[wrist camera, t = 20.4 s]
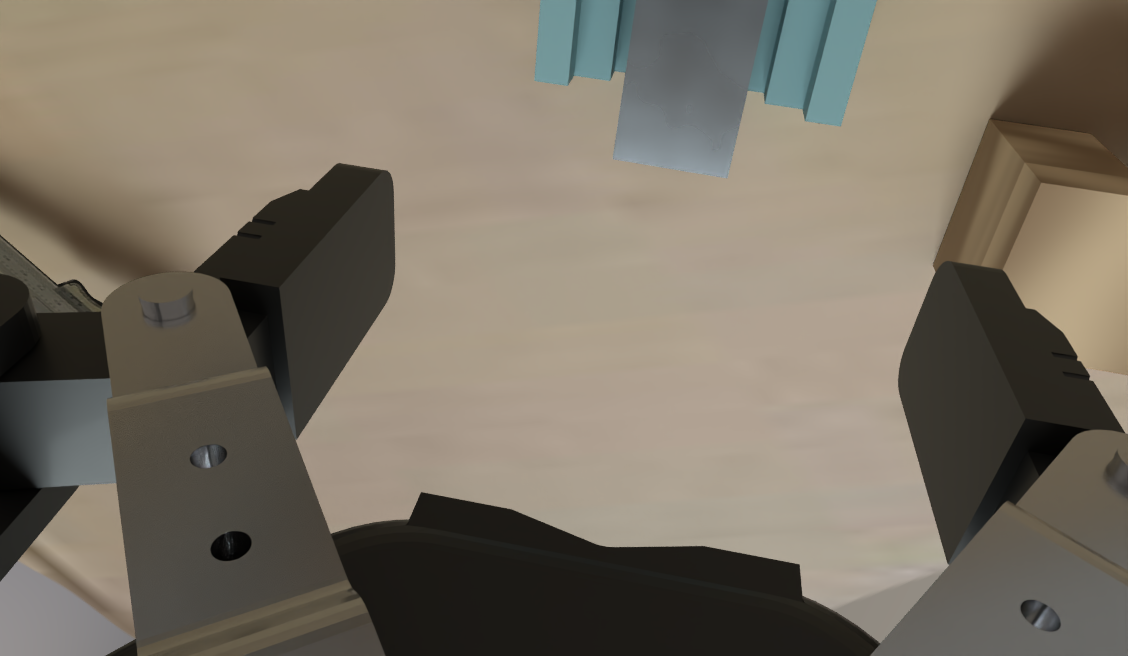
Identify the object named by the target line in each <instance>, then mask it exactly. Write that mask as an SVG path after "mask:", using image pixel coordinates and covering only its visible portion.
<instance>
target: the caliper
mask: <svg viewBox="0 0 1128 656" xmlns="http://www.w3.org/2000/svg"><path fill="white" fill-rule="evenodd" d="M0 274H4V275H9V276H12V277H15V278H17V279H19V280H21V281H22V282H23V283H24V284H26V285H27V287H28V289H29V292H30V295H31V298H32V302H33V305H34V308H35V311H36V313H60V312H100V311H101V307H102V305H103V303H102V302H100V301H98V300H96V299H94V298H93V297H92V296H91V295H90V294H89V293H88V292H87V290H86V289H85V287H84V286H83V285H82V284H81V283H80V282H79V281H77V280H73V279H72V280H69V281H67V282H64V283H61V284H58V285H57V284H56V283H55V282H54V281H52V280H51V279H50V278H49V277H48V276H47V275H46V274H44V273H43V272H42V271H41V270H40V269H39V268H38V267H36V266H35V265H34V264H33V263H32V262H31V261H29V260H28V259H27V258H26V257H25V256H24V255H23V254H21V253H20V252H19V251H18V250H17V249H16V248H15V247H13V246H12V245H11V244H10V243H9V242H8V241H7V240H5V239H4V238H3V237H2V236H1V235H0Z"/></svg>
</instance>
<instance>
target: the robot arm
mask: <svg viewBox="0 0 1128 656" xmlns="http://www.w3.org/2000/svg"><path fill="white" fill-rule="evenodd" d="M394 274H395V231H394V189H393V181H392V177H391V174H390V173H389V172H388V171H386V170H379V169H373V168H367V167H360V166H354V165H348V164H341V163H338V164H336V165H335V166H334V167H333V168H332V169H331V170H330V171H329V172H328V173H327V174H326V175H324V176H323V177H322V178H321V179H320V180H319V181H318V182H317V183H316V184H315V185H314V186H313V187H312V188H311V189H310V190H309V191H308V190H302V189H299V190H297V191H294V192H292V193H290V194H287V195H285V196H283V197H280V198H278V199H276V200H273V201H271V202H270V203H269V204H267V205H266V206H265V207H264V208H263V209H262V210H261V211H260V212H259V213H258V214H257V215H255V216H254V217H253V220H252V222H250V221H249V222H248V223H247V224H246V225H244V226H243V227H242V228H241V229H240V230H239V231H238V234H237V236H235V235H234V236H232V237H231V238H230V239H229V240H228V241H227V242H226V243H225V244H224V245H223V246H221V247H220V248H219V249H218V250H217V251H216V252H215V253H214V254H213V255H212V256H211V257H209V258H208V259H207V260H206V261H205V262H204V263H203V264H202V265H201V266H200V267H198V268H197V269H196V270H195V271H194V272H167V273H159V274H154V275H149V276H145V277H142V278H138V279H136V280H133V281H130V282H128V283H126V284H124V285H122V286H120V287H119V288H117V289H116V290H114V291H113V292H112V293H111V294H110V295H109V296H108V297H107V298H106V299H105V301H104V302H103V305H102V307H101V311H100V312H60V313H36V311H35V308H34V305H33V302H32V298H31V295H30V292H29V289H28V287H27V285H26V284H24V283H23V282H22V281H21V280H19V279H17V278H15V277H12V276H9V275H4V274H0V581H1V580H2V579H3V578H4V576H5V575H6V574H7V573H8V572H9V570H10V569H11V568H12V567H13V566H14V564H15V563H16V562H17V561H18V560H19V558H20V557H21V556H22V555H23V554H24V552H25V551H26V550H27V549H28V548H29V546H30V545H31V544H32V543H33V541H34V540H35V539H36V538H37V537H38V535H39V534H40V533H41V532H42V531H43V529H44V528H45V527H46V526H47V525H48V523H49V522H50V521H51V520H52V519H53V517H54V516H55V515H56V514H57V513H58V511H59V510H60V509H61V508H62V506H63V505H64V504H65V503H66V502H67V500H68V499H69V498H70V497H71V496H72V494H73V493H74V492H75V491H76V489H77V488H78V487H79V485H92V484H108V483H116V484H117V492H118V500H119V508H120V516H121V524H122V532H123V540H124V548H125V556H126V564H127V572H128V580H129V588H130V596H131V604H132V612H133V620H134V628H135V636H136V639H135V640H133V641H131V642H129V643H128V644H126V645H124V646H122V647H120V648H119V649H117V650H115V651H113V652H111V653H110V654H108V655H106V656H1128V434H1125V432H1124V430H1123V429H1122V427H1121V426H1120V424H1119V422H1118V421H1117V419H1116V417H1115V416H1114V414H1113V413H1112V411H1111V409H1110V408H1109V406H1108V404H1107V403H1106V401H1105V400H1104V398H1103V396H1102V395H1101V393H1100V391H1099V390H1098V388H1097V387H1096V385H1095V383H1094V382H1093V381H1089V377H1090V375H1089V374H1088V372H1087V370H1086V369H1085V367H1084V365H1083V364H1082V362H1081V361H1077V358H1078V356H1077V354H1076V352H1075V351H1074V349H1073V348H1072V346H1071V344H1070V343H1069V341H1068V339H1067V338H1066V336H1065V335H1064V333H1063V332H1062V331H1061V330H1059V329H1058V328H1057V327H1056V326H1055V325H1053V324H1052V323H1051V322H1050V321H1048V320H1047V319H1046V318H1045V317H1044V316H1042V315H1041V314H1040V313H1039V312H1038V311H1036V310H1035V309H1029V308H1025V306H1024V304H1023V302H1022V301H1021V299H1020V297H1019V295H1018V294H1017V292H1016V290H1015V288H1014V287H1013V285H1012V283H1011V281H1010V280H1009V278H1008V276H1007V274H1006V273H1005V272H1004V271H1003V270H1002V269H996V268H990V267H983V266H977V265H971V264H965V263H958V262H952V261H945V262H943V263H942V264H941V265H940V266H939V268H938V269H937V271H936V273H935V275H934V277H933V279H932V282H931V284H930V287H929V289H928V292H927V294H926V297H925V299H924V302H923V304H922V307H921V309H920V312H919V314H918V317H917V319H916V322H915V324H914V327H913V329H912V332H911V334H910V337H909V339H908V342H907V344H906V347H905V349H904V352H903V355H902V359H901V363H900V368H899V378H898V387H899V394H900V398H901V401H902V405H903V408H904V412H905V415H906V419H907V422H908V426H909V429H910V433H911V436H912V440H913V443H914V447H915V450H916V454H917V458H918V461H919V465H920V468H921V472H922V475H923V479H924V482H925V486H926V489H927V493H928V496H929V500H930V503H931V507H932V510H933V514H934V517H935V521H936V524H937V528H938V531H939V535H940V539H941V542H942V546H943V549H944V553H945V556H946V560H947V563H948V564H949V566H948V567H947V569H946V570H945V571H944V572H943V573H942V574H941V575H940V576H939V578H938V579H937V580H936V581H935V582H934V583H933V584H932V586H931V587H930V588H929V589H928V590H927V591H926V592H925V594H924V595H923V596H922V597H921V598H920V599H919V601H918V602H917V603H916V604H915V605H914V606H913V607H912V609H911V610H910V611H909V612H908V613H907V614H906V615H905V616H904V618H903V619H902V620H901V621H900V622H899V623H898V624H897V626H896V627H895V628H894V629H893V630H892V631H891V632H890V634H889V635H888V636H887V637H886V638H885V639H884V640H883V641H882V643H881V644H880V643H879V642H878V641H877V640H875V639H874V638H873V637H871V636H870V635H869V634H867V633H866V632H865V631H864V630H862V629H861V628H860V627H858V626H857V625H855V624H854V623H852V622H851V621H849V620H848V619H846V618H844V617H843V616H841V615H840V614H838V613H837V612H835V611H833V610H831V609H829V608H827V607H825V606H823V605H821V604H819V603H817V602H816V601H813V600H811V599H809V598H806V597H804V596H802V587H801V576H800V565H799V564H794V563H789V562H784V561H779V560H773V559H768V558H763V557H758V556H752V555H747V554H742V553H737V552H731V551H726V550H721V549H716V548H711V547H705V546H682V547H605V546H600V545H597V544H594V543H591V542H589V541H587V540H584V539H582V538H579V537H577V536H574V535H572V534H570V533H567V532H565V531H562V530H560V529H557V528H555V527H553V526H550V525H548V524H545V523H543V522H541V521H538V520H536V519H533V518H531V517H528V516H526V515H524V514H521V513H519V512H516V511H514V510H512V509H506V508H501V507H496V506H491V505H485V504H480V503H475V502H470V501H465V500H459V499H454V498H449V497H444V496H438V495H433V494H428V493H423V492H421V494H420V496H419V498H418V501H417V503H416V505H415V508H414V510H413V512H412V515H411V517H410V519H409V520H391V521H382V522H374V523H369V524H365V525H360V526H355V527H351V528H348V529H345V530H342V531H339V532H335V533H332V534H330V531H329V528H328V526H327V523H326V520H325V518H324V515H323V512H322V510H321V507H320V504H319V502H318V499H317V496H316V494H315V491H314V488H313V486H312V483H311V480H310V478H309V475H308V472H307V470H306V467H305V464H304V462H303V459H302V456H301V454H300V451H299V448H298V446H297V443H296V440H297V438H298V437H299V435H300V434H301V432H302V431H303V429H304V428H305V426H306V425H307V423H308V422H309V420H310V419H311V417H312V416H313V414H314V412H315V411H316V409H317V408H318V406H319V405H320V403H321V402H322V400H323V399H324V397H325V396H326V394H327V393H328V391H329V390H330V388H331V387H332V385H333V384H334V382H335V380H336V379H337V377H338V376H339V374H340V373H341V371H342V370H343V368H344V367H345V365H346V364H347V362H348V361H349V359H350V358H351V356H352V355H353V353H354V352H355V350H356V349H357V347H358V345H359V344H360V342H361V341H362V339H363V338H364V336H365V335H366V333H367V332H368V330H369V329H370V327H371V326H372V324H373V323H374V321H375V320H376V318H377V317H378V315H379V314H380V312H381V310H382V309H383V307H384V306H385V304H386V303H387V301H388V298H389V296H390V293H391V289H392V286H393V281H394ZM295 439H296V440H295Z"/></svg>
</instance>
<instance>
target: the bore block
mask: <svg viewBox="0 0 1128 656" xmlns="http://www.w3.org/2000/svg"><path fill="white" fill-rule="evenodd" d="M945 261H952V262H958V263H965V264H971V265H977V266H983V267H990V268H996V269H1002V270H1003V271H1004V272H1005V273H1006V274H1007V276H1008V278H1009V280H1010V281H1011V283H1012V285H1013V287H1014V288H1015V290H1016V292H1017V294H1018V295H1019V297H1020V299H1021V301H1022V302H1023V304H1024V306H1025V308H1029V309H1035V310H1036V311H1038V312H1039V313H1040V314H1041V315H1042V316H1044V317H1045V318H1046V319H1047V320H1048V321H1050V322H1051V323H1052V324H1053V325H1055V326H1056V327H1057V328H1058V329H1059V330H1061V331H1062V332H1063V333H1064V335H1065V336H1066V338H1067V339H1068V341H1069V343H1070V344H1071V346H1072V348H1073V349H1074V351H1075V352H1076V354H1077V356H1078V358H1077V361H1081V362H1082V364H1083V365H1084V367H1085V368H1088V369H1094V370H1100V371H1106V372H1112V373H1118V374H1124V375H1128V168H1127V167H1126V166H1125V165H1124V164H1123V163H1122V162H1121V161H1120V160H1119V159H1118V158H1116V157H1115V156H1114V155H1113V154H1112V153H1111V152H1110V151H1109V150H1108V149H1107V148H1106V147H1105V146H1103V145H1102V144H1101V143H1100V142H1099V141H1098V140H1097V139H1096V138H1095V137H1094V136H1093V135H1092V134H1089V133H1082V132H1075V131H1068V130H1061V129H1055V128H1048V127H1041V126H1034V125H1027V124H1020V123H1013V122H1006V121H1000V120H993V119H989V122H988V125H987V127H986V130H985V132H984V135H983V137H982V140H981V143H980V145H979V148H978V150H977V153H976V156H975V158H974V161H973V163H972V166H971V168H970V171H969V174H968V176H967V179H966V181H965V184H964V187H963V189H962V192H961V194H960V197H959V200H958V202H957V205H956V207H955V210H954V212H953V215H952V218H951V220H950V223H949V225H948V228H947V231H946V233H945V236H944V238H943V241H942V243H941V246H940V249H939V251H938V254H937V256H936V259H935V262H934V264H933V267H934V269H935V272H936V271H937V269H938V268H939V266H940V265H941V264H942V263H943V262H945Z"/></svg>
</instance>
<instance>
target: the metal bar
mask: <svg viewBox="0 0 1128 656" xmlns="http://www.w3.org/2000/svg"><path fill="white" fill-rule="evenodd" d="M767 4H768V0H636V5H635V12H634V18H633V25H632V32H631V39H630V45H629V52H628V59H627V66H626V73H625V79H624V86H623V93H622V100H621V106H620V113H619V120H618V127H617V134H616V140H615V147H614V154H613V159H615V160H621V161H627V162H633V163H639V164H645V165H651V166H657V167H663V168H669V169H675V170H681V171H687V172H693V173H699V174H704V175H710V176H716V177H722V178H727V177H728V173H729V169H730V164H731V160H732V156H733V151H734V147H735V143H736V138H737V134H738V130H739V125H740V121H741V117H742V112H743V108H744V104H745V99H746V95H747V91H748V86H749V82H750V78H751V73H752V69H753V65H754V60H755V56H756V52H757V47H758V43H759V39H760V34H761V30H762V26H763V21H764V17H765V13H766V8H767Z"/></svg>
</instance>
